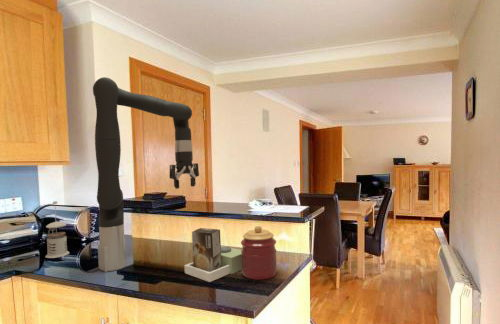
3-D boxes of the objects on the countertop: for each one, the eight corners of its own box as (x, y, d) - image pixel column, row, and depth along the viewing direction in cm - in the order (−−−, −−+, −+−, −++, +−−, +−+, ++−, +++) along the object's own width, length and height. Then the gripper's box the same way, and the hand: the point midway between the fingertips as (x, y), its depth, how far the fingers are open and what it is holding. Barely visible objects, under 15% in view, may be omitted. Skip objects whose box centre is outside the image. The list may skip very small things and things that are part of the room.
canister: (279, 268, 121) (278, 222, 121) (274, 281, 109) (272, 230, 108) (246, 266, 124) (245, 221, 124) (237, 279, 112) (236, 229, 111)
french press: (50, 259, 141) (47, 203, 140) (39, 255, 148) (37, 201, 147) (73, 253, 149) (70, 200, 148) (62, 249, 156) (60, 198, 155)
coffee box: (222, 271, 120) (221, 229, 119) (214, 277, 114) (212, 233, 113) (202, 268, 123) (200, 227, 123) (192, 274, 118) (191, 231, 117)
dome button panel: (211, 282, 109) (210, 262, 109) (183, 272, 120) (182, 254, 120) (248, 266, 123) (247, 249, 123) (219, 258, 134) (219, 242, 134)
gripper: (191, 150, 148) (192, 185, 148) (165, 151, 137) (166, 188, 137) (201, 150, 143) (203, 186, 143) (175, 150, 132) (176, 189, 133)
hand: (185, 187), depth 140 cm, fingers open, 8 cm apart
